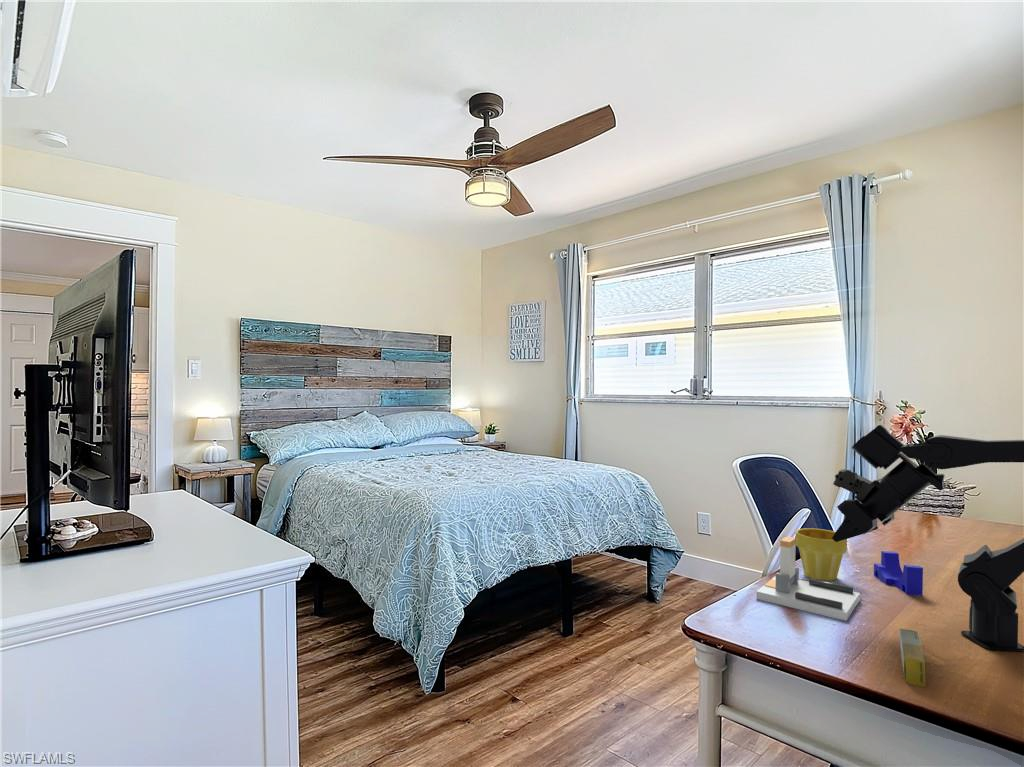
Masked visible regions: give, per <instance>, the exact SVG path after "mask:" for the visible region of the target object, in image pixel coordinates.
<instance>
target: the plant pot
mask: <svg viewBox="0 0 1024 767" xmlns="http://www.w3.org/2000/svg"><path fill="white" fill-rule="evenodd" d="M835 532H836V531H835V530H834V531H833V530H830V529H829V530H828V529H823V528H822V529H821V528H814V527H813V528H810V527H806V528H798V529H796V530H795V538H796V547H797V548H798V550H799V555H800V560H801V566H802V569H803V575H805V576H806V577H808V578H809V579H815V580H820V581H824V582H832V581H835V580H837V578H838V575H839V571H840V567H841V564H842V559H843V558H844V557H843V556H844V554H845V553H847V550H848V548H847V547H848V539H845V540H842V541H838V542H835V541H834V540H833V539H832V537H833V535H834V534H835Z"/></svg>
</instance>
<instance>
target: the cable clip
mask: <svg viewBox="0 0 1024 767" xmlns="http://www.w3.org/2000/svg"><path fill="white" fill-rule="evenodd" d="M880 552H881V555H880V557H881V558H880V563H877V562H876V563H875V562H874V563H873V576H874V577H875V578H876V579H878V581H881V582H882V583H883V584H885V585H891V586H894V587H895V588H897V589H898V590H900V591H901V592H902V593H904V594H906V595H908V596H909V595H911V596H921V597H922V596H923V590H924V589H923V586H924V585H923V584H924V582H923V581H924V568H923V567H922V566H921V565H914V564H913V565H911V564H910V565H909V564H903V570H902V567H901V563H900V556H899V555H900V554H899V553H898V552H896V551H887V550H881V551H880Z"/></svg>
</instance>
